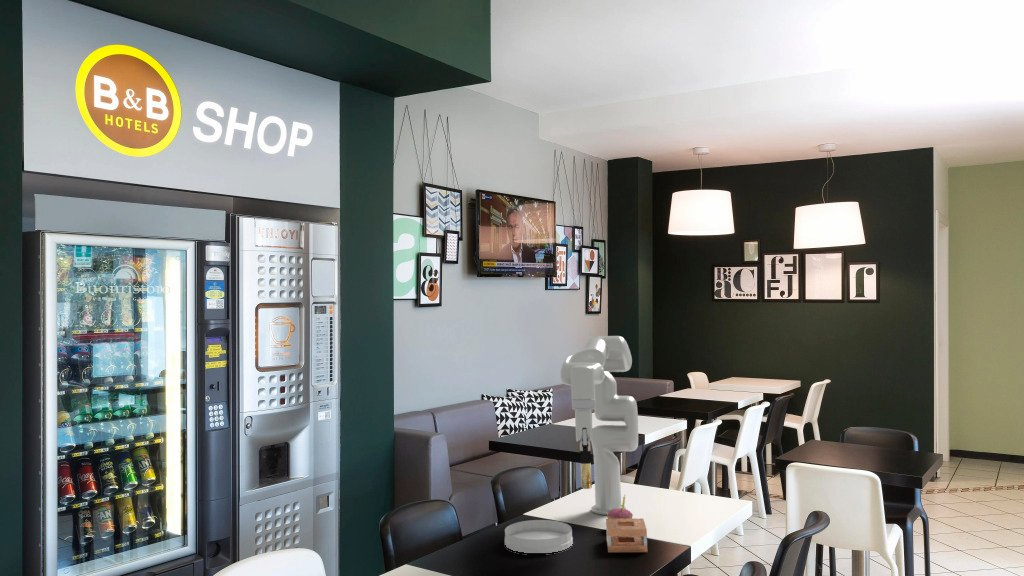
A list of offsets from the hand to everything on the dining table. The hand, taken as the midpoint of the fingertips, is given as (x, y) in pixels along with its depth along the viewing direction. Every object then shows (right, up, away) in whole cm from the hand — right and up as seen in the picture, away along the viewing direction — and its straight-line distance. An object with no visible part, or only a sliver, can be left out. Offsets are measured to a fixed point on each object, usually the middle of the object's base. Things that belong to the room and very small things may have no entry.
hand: (585, 461), depth 243 cm
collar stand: (+13, -27, -1) cm, 30 cm away
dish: (-15, -28, +4) cm, 32 cm away
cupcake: (+13, -27, +17) cm, 35 cm away
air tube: (0, -8, 0) cm, 8 cm away
